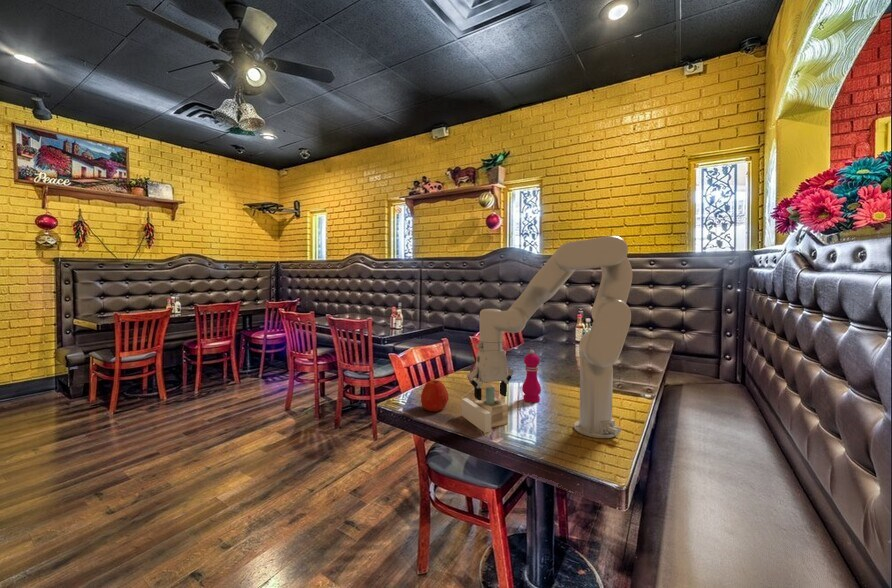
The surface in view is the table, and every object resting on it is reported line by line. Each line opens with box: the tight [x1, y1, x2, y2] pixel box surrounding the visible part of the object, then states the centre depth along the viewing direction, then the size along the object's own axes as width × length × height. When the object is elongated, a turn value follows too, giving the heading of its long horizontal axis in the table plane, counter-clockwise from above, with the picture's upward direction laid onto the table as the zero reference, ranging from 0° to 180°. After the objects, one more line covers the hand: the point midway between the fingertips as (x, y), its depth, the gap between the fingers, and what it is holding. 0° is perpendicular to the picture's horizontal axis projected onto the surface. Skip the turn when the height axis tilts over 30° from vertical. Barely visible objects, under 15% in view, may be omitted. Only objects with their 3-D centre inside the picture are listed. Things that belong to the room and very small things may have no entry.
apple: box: [420, 379, 449, 412], centre depth 137 cm, size 10×10×10 cm
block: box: [473, 397, 509, 428], centre depth 124 cm, size 8×8×6 cm
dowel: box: [485, 386, 496, 405], centre depth 124 cm, size 3×3×10 cm
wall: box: [461, 397, 492, 434], centre depth 123 cm, size 16×2×6 cm, turn 25°
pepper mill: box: [521, 349, 542, 404], centre depth 146 cm, size 7×7×20 cm
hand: (490, 397), depth 124 cm, fingers open, 9 cm apart
